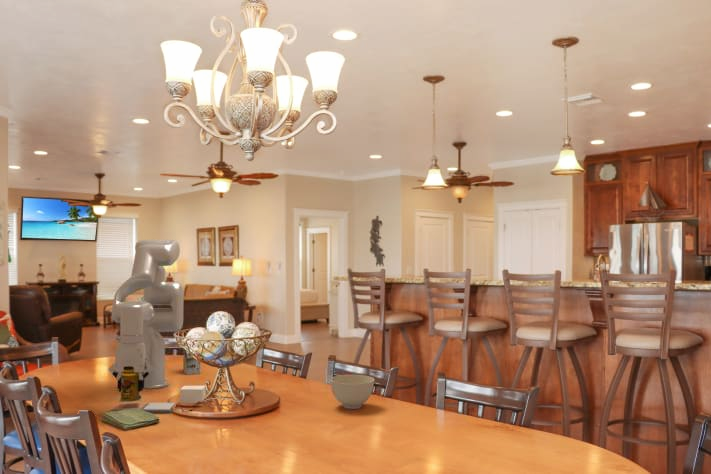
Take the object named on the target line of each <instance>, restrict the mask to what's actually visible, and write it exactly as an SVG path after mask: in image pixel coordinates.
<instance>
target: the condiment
mask: <svg viewBox="0 0 711 474" xmlns="http://www.w3.org/2000/svg"><path fill="white" fill-rule="evenodd" d="M139 380H140V378H139V375H138V373H134V367H124V368H123V373H122V374H121V392H120V396H119V400H118V402H119V403H132V402H141V401H142V399H143V398H142V397H143V396H142V394H140V392H139V391H138V381H139Z"/></svg>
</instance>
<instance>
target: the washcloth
mask: <svg viewBox="0 0 711 474" xmlns="http://www.w3.org/2000/svg"><path fill="white" fill-rule="evenodd" d="M160 420H161V419H160V417H159V416H157V415H156V413H149V412H145V411H143V410H142V409H138V408H130V409H123V410H120V411H112V412H111V411H107V412H103V413H102V415H101V421H102V422H105V423H107V424H108V425H111V426H114V427H117V428H119V429H122V430H124V431H128V430H134V429H136V428H137V429H138V428H141V427H145V426H148V425H151V424H152V425H153V424H157V423H160Z"/></svg>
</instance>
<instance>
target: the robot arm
mask: <svg viewBox="0 0 711 474" xmlns="http://www.w3.org/2000/svg"><path fill="white" fill-rule="evenodd" d="M134 247H135V248H134V249H135V253H134V260H133V263H132V270H131V276H130V277H129V278H128V279H126V280H125V281H124V282H123V283H122V284H121V285H120V286H119V287H118V289H117V290H116V292H115V294H114V297H113V302H112V307H111V318H112V320H113V321H114V322H116V323H119V325H120V326H119V327H120V330H119V331H120V334H119V335H116V336H115V339H116V341H119V343H117V345H116V350H115V359H114V363H113V364H112V365H111V366H110V367H109V368H108V369H107V370H108V372H110V373H111V374H112V376H113V377H115V379H116V381H117V390H118V392H119V393H121V374H122V373H123V368H124V367H134V373H138V375H139V381H138V391H139V393H141V392H142V391H143V390H144V389H147V390H148V389H151V390H152V389H158V388H159V389H160V388H165V387H167V386H169V381H168V380H166V379H165V378H166V376H165V375H166V373H165V371H166V370H165V367H166V360H165V359H166V342H165V339H164V338H163V336H162V334H161V333H163V332H164V333H165V332H168V333H169V332H170V333H171V332H173V333H174V332H179V331H180V330H182V328H183V324H184V303H185V302H184V296H185V295H184V287H183V285H182V284H181V283H180V282H177V281H167V280H166V269H165V267H170V266H173V264H175V262H176V261H178V259H179V256H180V252H181V251H180V250H181V249H180V244H179V242H178V241H177V240H176V239H175V240H174V239H141V240H139V241H137V242H136V243H135V246H134ZM141 290H143V291H142V292H143V293H142V296H143V301H125V300H126V298H127V297H129V296H130V295H132V294H134V293H136V292H139V291H141ZM154 306H171V307H170V308H167V307H166V308H161V307H160V308H159V307H158V308H157V307H156V308H154Z"/></svg>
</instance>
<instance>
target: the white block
mask: <svg viewBox="0 0 711 474" xmlns="http://www.w3.org/2000/svg"><path fill="white" fill-rule="evenodd" d="M205 396H206V397H207V385H183V386H182V387H181V388H180V389H179V401H180V402H179V404H180V403H197V402H199V401H202V400H203V399H204V398H205Z"/></svg>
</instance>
